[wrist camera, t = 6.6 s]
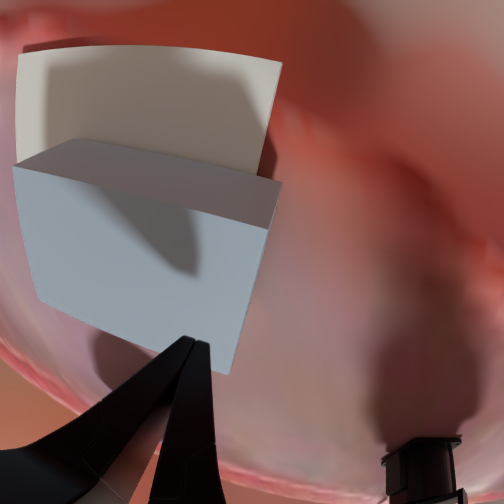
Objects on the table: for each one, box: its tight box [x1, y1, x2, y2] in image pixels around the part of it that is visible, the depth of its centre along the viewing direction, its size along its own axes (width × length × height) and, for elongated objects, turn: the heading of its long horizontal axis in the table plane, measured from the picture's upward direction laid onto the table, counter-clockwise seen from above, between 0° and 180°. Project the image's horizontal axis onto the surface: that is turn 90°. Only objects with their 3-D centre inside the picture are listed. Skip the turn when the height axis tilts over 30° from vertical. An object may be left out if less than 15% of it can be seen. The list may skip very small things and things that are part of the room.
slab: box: [12, 139, 283, 375], centre depth 12 cm, size 4×7×10 cm
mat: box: [15, 45, 283, 175], centre depth 15 cm, size 14×16×1 cm
